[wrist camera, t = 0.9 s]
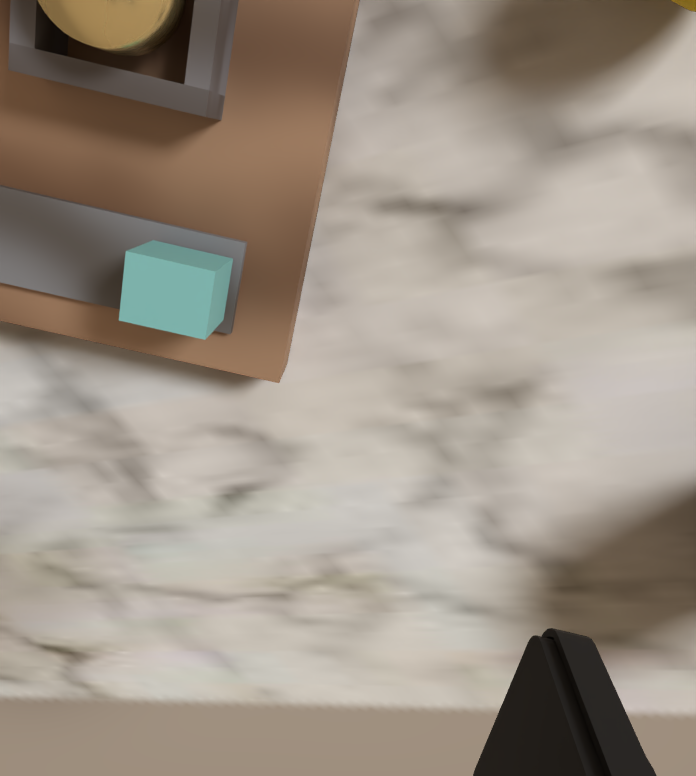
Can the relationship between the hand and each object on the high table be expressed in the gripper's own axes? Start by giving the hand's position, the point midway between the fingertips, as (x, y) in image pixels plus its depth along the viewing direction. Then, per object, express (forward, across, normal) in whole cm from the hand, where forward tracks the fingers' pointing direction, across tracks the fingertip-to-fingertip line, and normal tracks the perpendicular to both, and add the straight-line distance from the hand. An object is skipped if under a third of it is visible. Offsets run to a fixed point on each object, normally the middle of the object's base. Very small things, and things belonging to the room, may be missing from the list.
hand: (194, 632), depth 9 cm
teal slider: (+17, +5, -1) cm, 17 cm away
